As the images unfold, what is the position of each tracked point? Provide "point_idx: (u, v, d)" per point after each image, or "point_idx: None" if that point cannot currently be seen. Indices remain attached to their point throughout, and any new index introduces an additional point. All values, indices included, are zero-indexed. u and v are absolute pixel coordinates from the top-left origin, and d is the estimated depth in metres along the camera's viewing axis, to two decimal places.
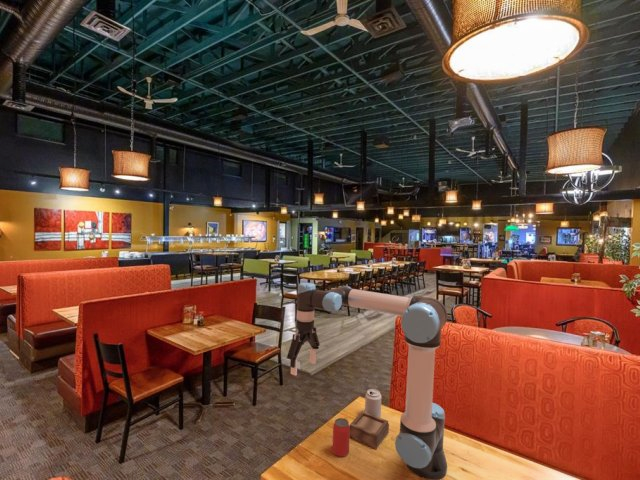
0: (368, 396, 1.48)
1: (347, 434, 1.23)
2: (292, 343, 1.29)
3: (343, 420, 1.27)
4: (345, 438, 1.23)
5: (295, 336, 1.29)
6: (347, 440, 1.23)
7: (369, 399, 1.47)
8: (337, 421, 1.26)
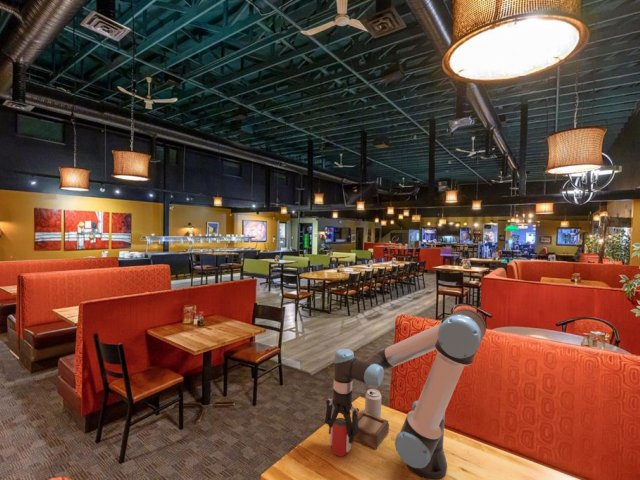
0: (368, 396, 1.48)
1: (346, 434, 1.23)
2: None
3: (342, 420, 1.27)
4: (345, 437, 1.23)
5: None
6: (346, 440, 1.23)
7: (369, 399, 1.47)
8: (336, 421, 1.26)
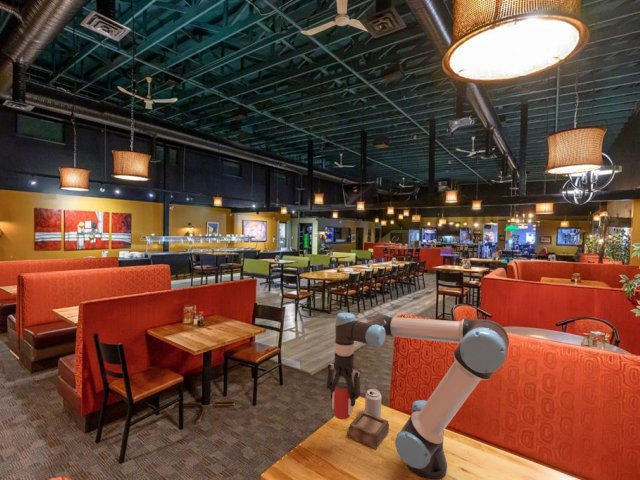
0: (368, 396, 1.48)
1: (348, 397, 1.23)
2: None
3: (344, 384, 1.26)
4: (346, 400, 1.22)
5: None
6: None
7: (369, 399, 1.47)
8: (338, 385, 1.26)
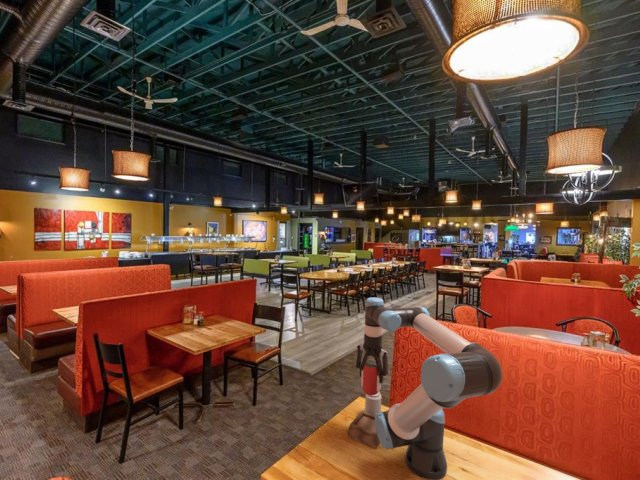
0: (368, 396, 1.48)
1: (377, 374, 1.33)
2: None
3: (372, 363, 1.37)
4: (375, 378, 1.33)
5: None
6: None
7: (369, 399, 1.47)
8: (367, 364, 1.36)
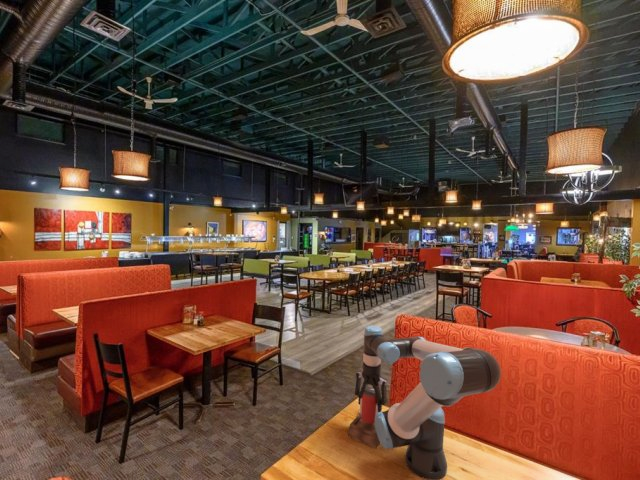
0: None
1: (376, 403, 1.34)
2: None
3: (371, 391, 1.37)
4: (374, 406, 1.33)
5: None
6: (375, 409, 1.34)
7: None
8: (366, 392, 1.37)
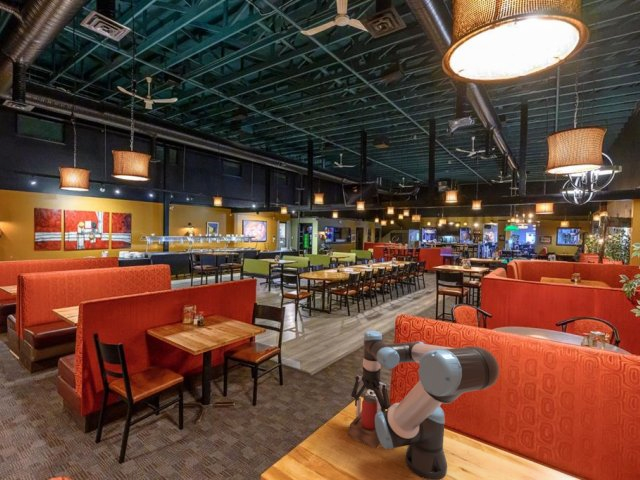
0: None
1: (375, 409, 1.34)
2: None
3: (371, 397, 1.37)
4: (374, 412, 1.33)
5: None
6: None
7: None
8: (365, 398, 1.37)
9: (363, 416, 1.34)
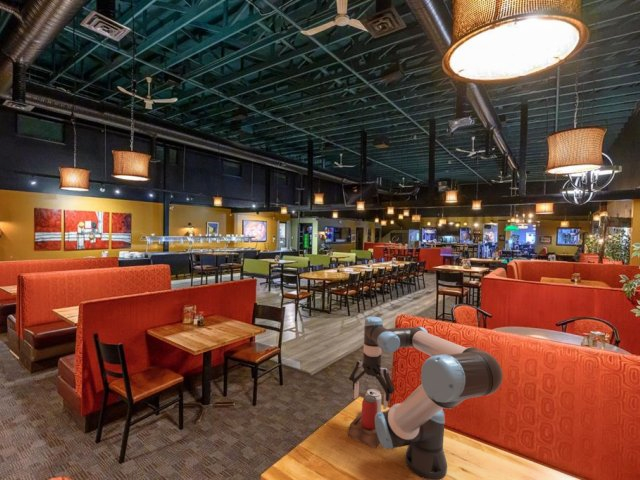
0: None
1: (375, 409, 1.34)
2: None
3: (371, 397, 1.37)
4: (374, 412, 1.33)
5: None
6: (375, 415, 1.34)
7: None
8: (366, 398, 1.37)
9: (363, 416, 1.34)
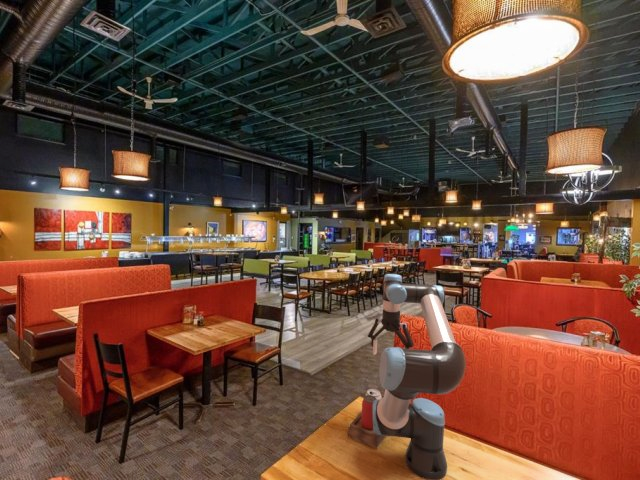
0: None
1: None
2: None
3: (371, 397, 1.37)
4: None
5: None
6: None
7: None
8: (365, 398, 1.37)
9: (363, 416, 1.34)
